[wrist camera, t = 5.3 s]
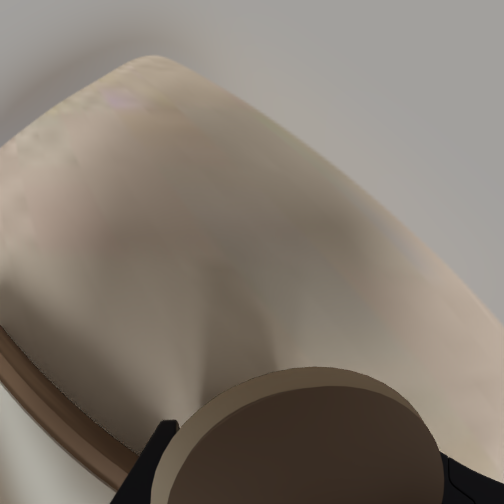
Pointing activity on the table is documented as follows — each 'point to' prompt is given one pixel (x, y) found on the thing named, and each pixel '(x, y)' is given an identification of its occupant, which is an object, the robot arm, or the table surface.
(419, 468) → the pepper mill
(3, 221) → the table surface
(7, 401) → the square tray
